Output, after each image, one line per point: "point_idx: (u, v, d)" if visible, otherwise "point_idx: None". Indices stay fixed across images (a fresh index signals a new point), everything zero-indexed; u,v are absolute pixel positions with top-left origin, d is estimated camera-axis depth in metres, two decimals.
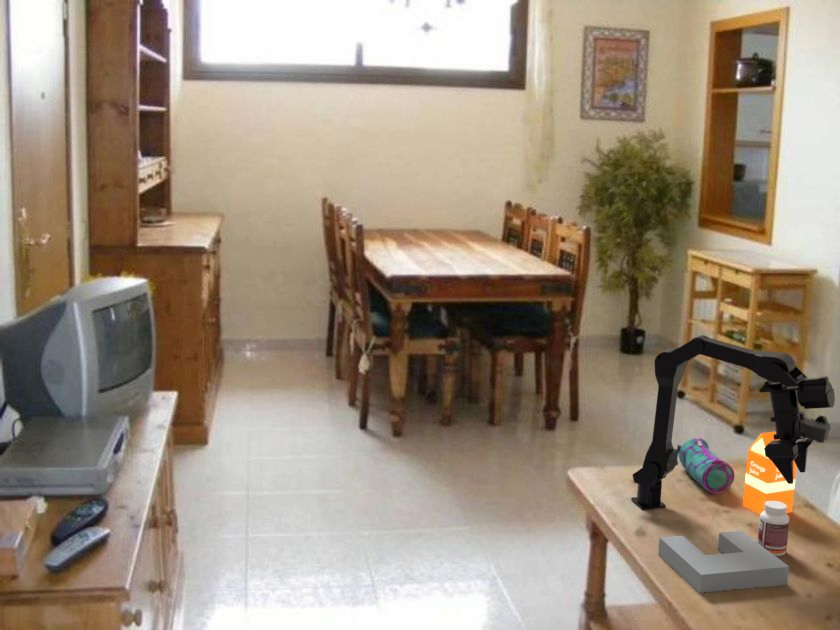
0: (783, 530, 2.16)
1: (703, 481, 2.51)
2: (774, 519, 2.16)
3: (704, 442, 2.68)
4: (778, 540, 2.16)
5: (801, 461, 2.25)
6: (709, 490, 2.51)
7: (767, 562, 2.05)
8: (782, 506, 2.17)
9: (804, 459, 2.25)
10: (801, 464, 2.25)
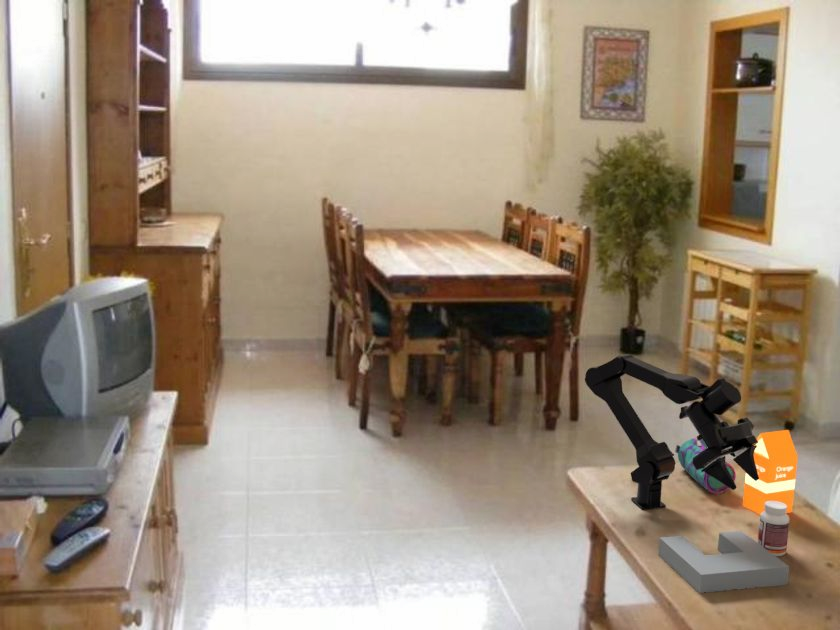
0: (783, 530, 2.16)
1: (705, 481, 2.51)
2: (774, 519, 2.16)
3: (703, 442, 2.68)
4: (778, 540, 2.16)
5: (751, 469, 2.27)
6: (710, 490, 2.51)
7: (767, 562, 2.05)
8: (782, 506, 2.17)
9: (752, 466, 2.27)
10: (752, 472, 2.27)
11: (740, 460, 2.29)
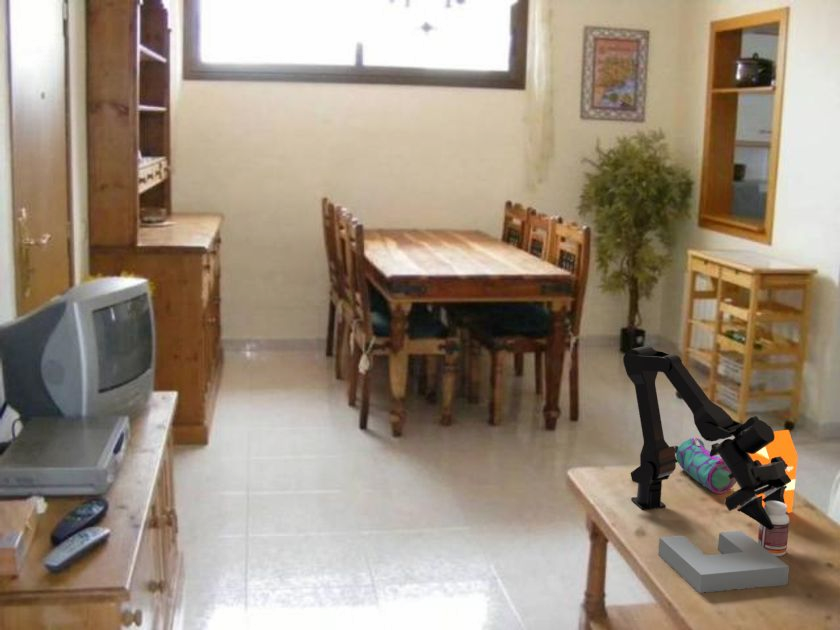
0: (783, 530, 2.16)
1: (708, 482, 2.51)
2: (774, 519, 2.16)
3: (701, 442, 2.68)
4: (778, 540, 2.16)
5: None
6: (714, 490, 2.51)
7: (767, 562, 2.05)
8: (782, 506, 2.17)
9: None
10: None
11: None
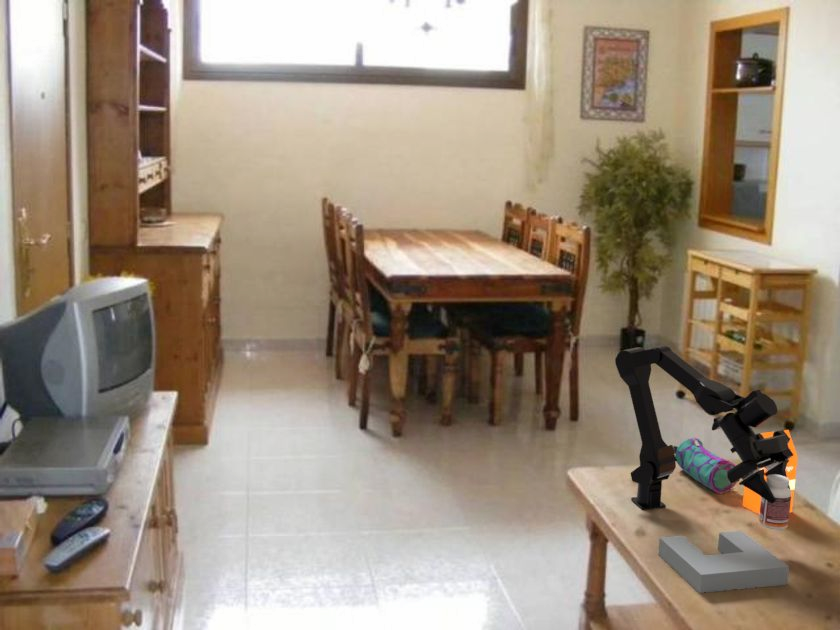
0: (785, 504, 2.15)
1: (710, 482, 2.51)
2: (776, 493, 2.15)
3: (699, 442, 2.68)
4: (780, 513, 2.15)
5: None
6: (716, 490, 2.51)
7: (767, 562, 2.05)
8: (784, 479, 2.16)
9: None
10: None
11: None
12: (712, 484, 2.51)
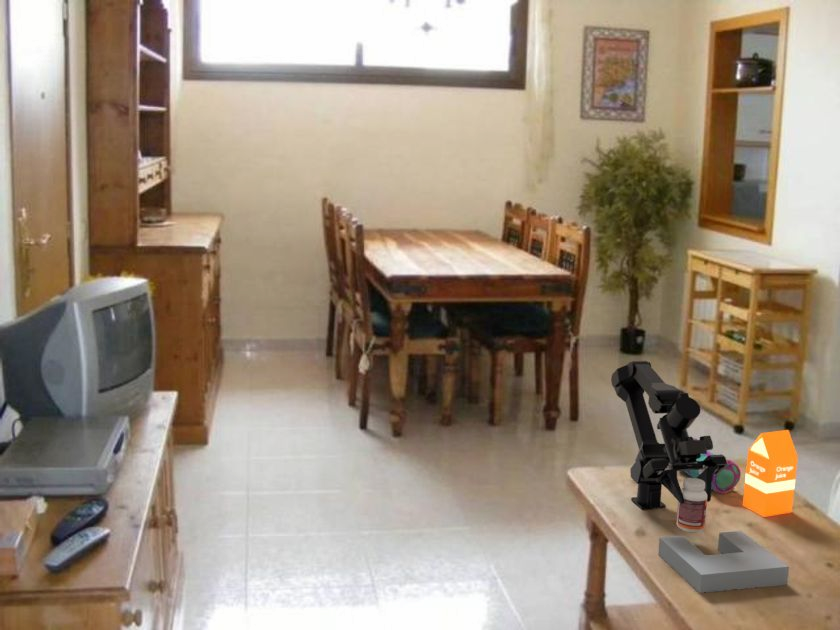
0: (694, 507, 2.19)
1: (712, 482, 2.51)
2: (686, 494, 2.19)
3: None
4: (689, 515, 2.19)
5: (706, 490, 2.22)
6: (718, 490, 2.51)
7: (767, 562, 2.05)
8: (698, 483, 2.19)
9: (706, 487, 2.22)
10: None
11: None
12: (714, 484, 2.51)
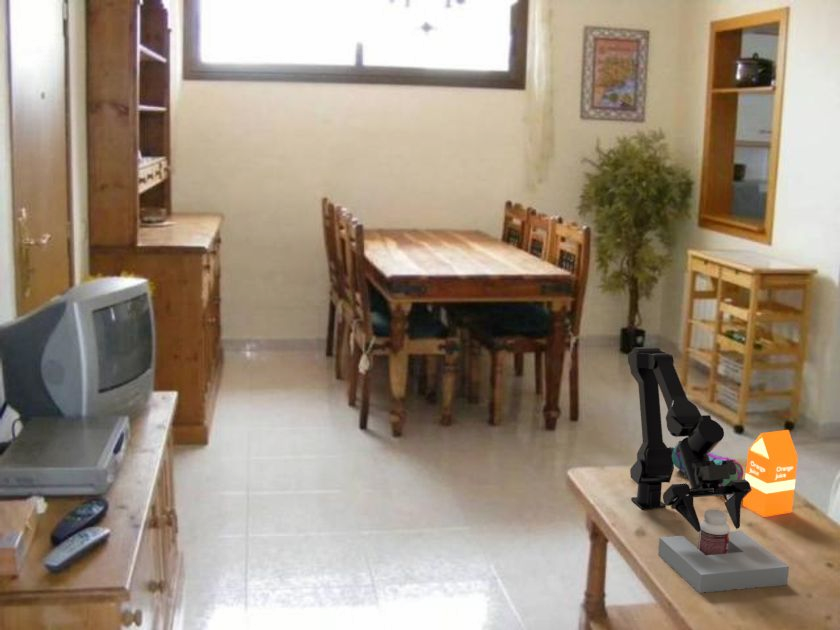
0: (716, 540, 2.10)
1: None
2: (708, 527, 2.10)
3: None
4: (711, 549, 2.10)
5: (735, 516, 2.13)
6: None
7: (767, 562, 2.05)
8: (720, 516, 2.11)
9: (735, 513, 2.13)
10: (734, 519, 2.13)
11: (728, 505, 2.16)
12: (720, 484, 2.51)
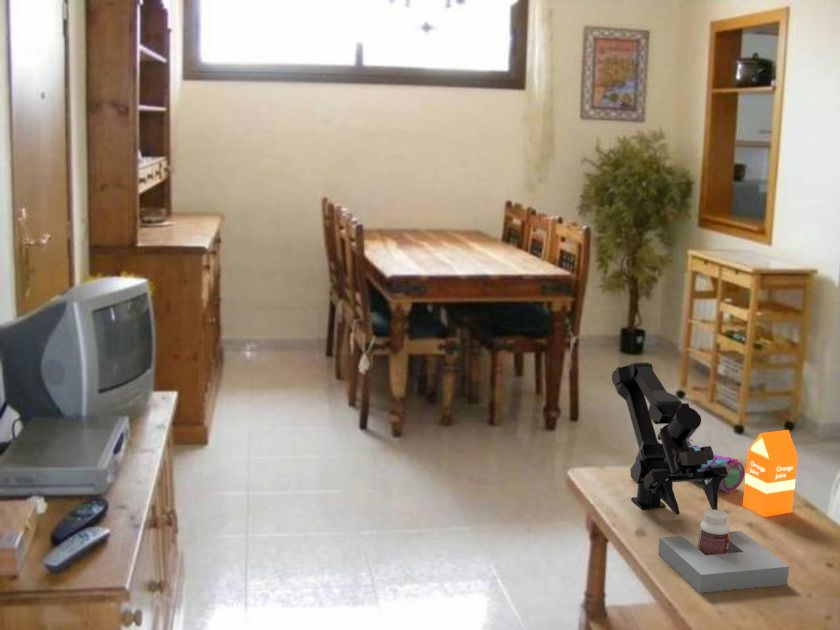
0: (716, 540, 2.10)
1: None
2: (708, 527, 2.10)
3: (692, 442, 2.68)
4: (711, 549, 2.10)
5: (712, 500, 2.22)
6: (725, 490, 2.52)
7: (767, 562, 2.05)
8: (720, 516, 2.11)
9: (713, 497, 2.22)
10: (712, 503, 2.22)
11: (707, 489, 2.25)
12: (723, 484, 2.51)
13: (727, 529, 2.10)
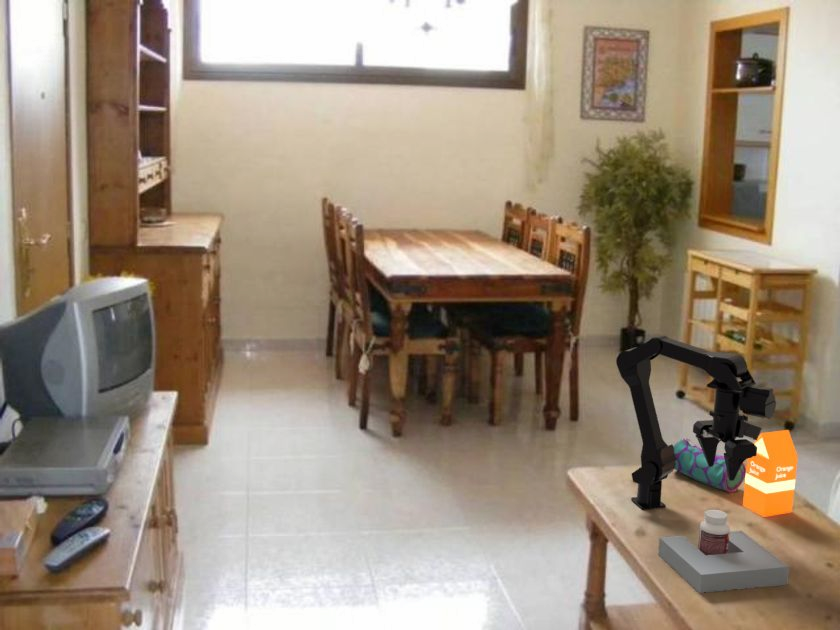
0: (716, 540, 2.10)
1: (724, 482, 2.51)
2: (708, 527, 2.10)
3: (690, 442, 2.68)
4: (711, 549, 2.10)
5: (712, 455, 2.34)
6: (728, 490, 2.52)
7: (767, 562, 2.05)
8: (720, 516, 2.11)
9: (714, 454, 2.34)
10: (711, 459, 2.34)
11: (707, 443, 2.34)
12: (726, 484, 2.51)
13: (727, 529, 2.10)
